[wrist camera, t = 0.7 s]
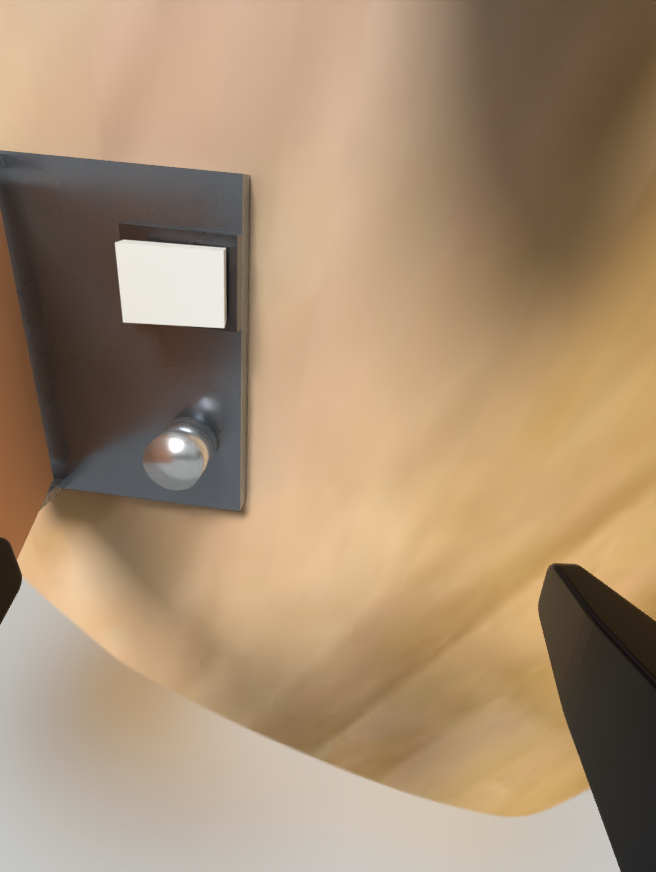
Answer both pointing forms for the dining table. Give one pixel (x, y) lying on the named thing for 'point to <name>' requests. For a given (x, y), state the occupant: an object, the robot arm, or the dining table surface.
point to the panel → (116, 340)
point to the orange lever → (18, 419)
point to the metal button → (180, 453)
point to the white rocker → (172, 283)
